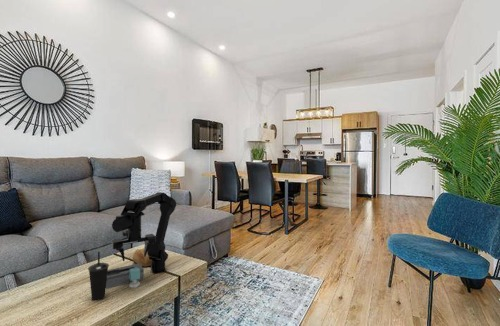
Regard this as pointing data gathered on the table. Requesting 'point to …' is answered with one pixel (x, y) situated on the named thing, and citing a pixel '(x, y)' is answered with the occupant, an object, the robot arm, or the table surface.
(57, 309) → the table surface
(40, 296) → the table surface
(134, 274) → the peg
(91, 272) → the drinking cup
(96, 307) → the table surface
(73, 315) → the table surface
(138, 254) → the bread roll
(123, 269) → the keyhole plate
